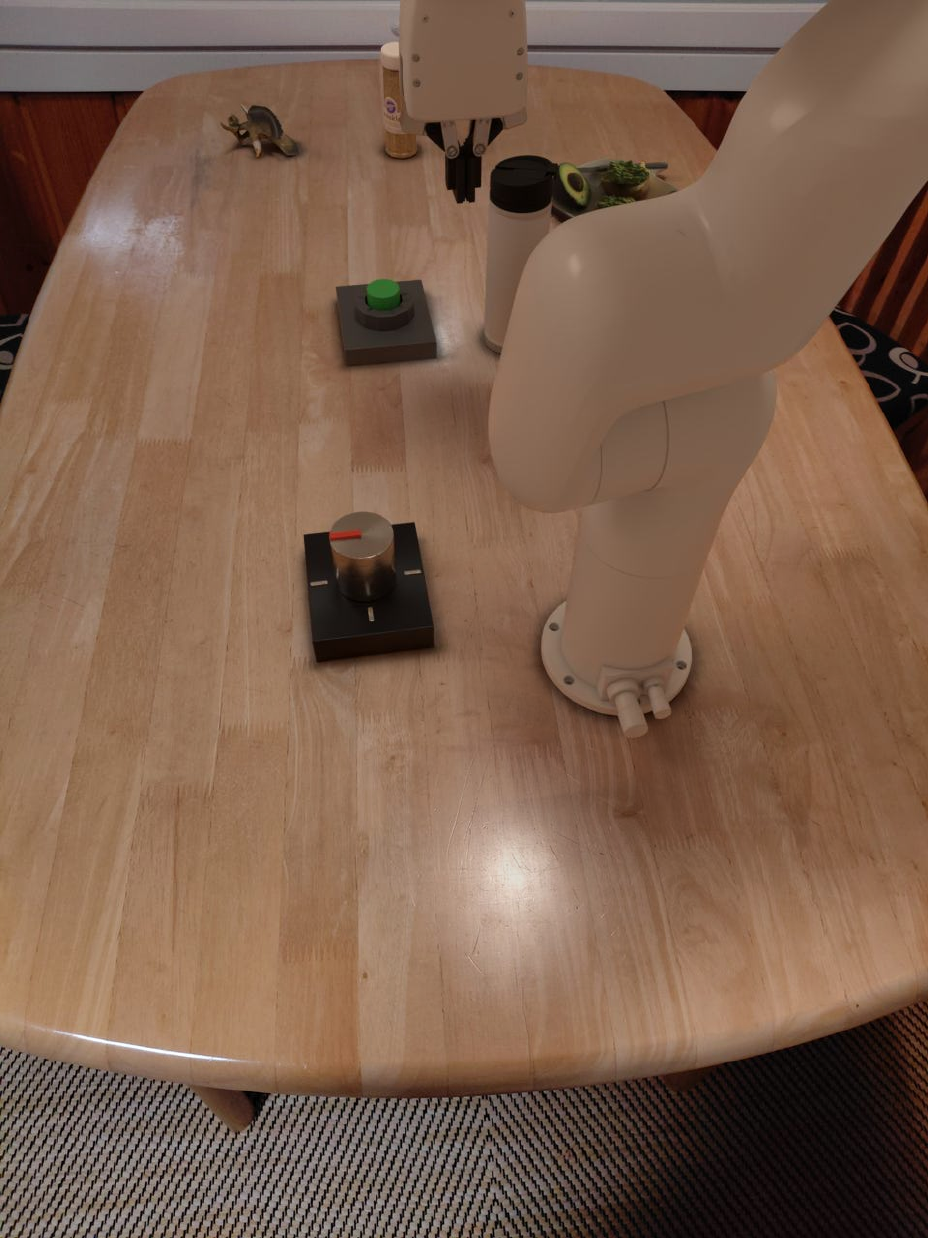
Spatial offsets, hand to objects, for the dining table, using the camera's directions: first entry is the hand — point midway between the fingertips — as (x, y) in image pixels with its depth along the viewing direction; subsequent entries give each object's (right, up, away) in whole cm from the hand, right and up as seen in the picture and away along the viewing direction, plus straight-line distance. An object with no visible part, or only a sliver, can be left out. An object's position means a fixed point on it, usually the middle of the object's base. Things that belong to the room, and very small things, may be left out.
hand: (463, 195), depth 83 cm
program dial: (-8, -34, -4) cm, 36 cm away
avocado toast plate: (+19, +17, +40) cm, 48 cm away
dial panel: (-8, -36, -1) cm, 37 cm away
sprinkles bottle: (-9, +28, +48) cm, 56 cm away
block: (-9, -5, +23) cm, 25 cm away
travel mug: (+6, -6, +22) cm, 24 cm away
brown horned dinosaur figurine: (-28, +28, +48) cm, 62 cm away
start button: (-9, -3, +20) cm, 22 cm away
